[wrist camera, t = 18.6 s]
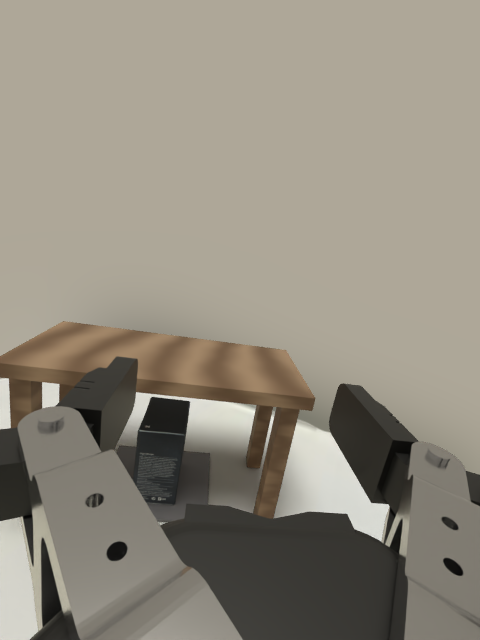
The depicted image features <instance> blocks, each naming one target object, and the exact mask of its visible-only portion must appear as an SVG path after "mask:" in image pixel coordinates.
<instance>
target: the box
mask: <svg viewBox="0 0 480 640" xmlns="http://www.w3.org/2000/svg"><path fill="white" fill-rule="evenodd" d="M189 408H190V401H183V400H174V399H165V398H157V397H152V398H150V402H149V405H148V408H147V411H146V413H145V416H144V418H143V421H142V423H141V425H140V428H139V430H138V437H137V447H136V456H135V466H134V476H133V482H134V483H135V485H136V487H137V488H138V490H139V492H140V493H141V495H142V497H143V498H144V500H145V502H146V503H152V504H165V505H174V504H175V503H176V496H177V489H178V483H179V477H180V470H181V464H182V457H183V450H184V444H185V437H186V430H187V423H188V415H189Z"/></svg>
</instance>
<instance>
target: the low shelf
mask: <svg viewBox="0 0 480 640" xmlns="http://www.w3.org/2000/svg"><path fill="white" fill-rule="evenodd" d="M116 356H119V357H127V358H136V359H138V372H137V384H136V392H141V393H150V394H160V395H169V396H178V397H188V398H197V399H206V400H216V401H225V402H234V403H244V404H253V405H257V406H256V411H255V416H254V421H253V426H252V431H251V436H250V441H249V446H248V451H247V456H246V462H247V467H250V468H260V465H261V460H262V455H263V451H264V446H265V442H266V437H267V432H268V428H269V423H270V419H271V414H272V409H273V407H276V412H275V416H274V421H273V425H272V430H271V435H270V439H269V444H268V448H267V453H266V457H265V462H264V466H263V471H262V475H261V480H260V484H259V489H258V493H257V498H256V502H255V507H254V512H253V514H255V515H259V516H262V517H265V518H270V519H273V517H274V513H275V508H276V504H277V500H278V496H279V492H280V488H281V484H282V480H283V476H284V471H285V467H286V463H287V459H288V455H289V451H290V447H291V443H292V439H293V435H294V430H295V426H296V422H297V418H298V414H299V410H309V411H312V410H313V405H314V402H315V397H314V395H313V394H312V392H311V390H310V389H309V387H308V386H307V384H306V382H305V381H304V379H303V377H302V376H301V374H300V373H299V371H298V369H297V368H296V366H295V364H294V363H293V361H292V359H291V358H290V356H289V354H288V353H287V351H286V350H280V349H272V348H265V347H258V346H249V345H242V344H235V343H227V342H219V341H211V340H203V339H196V338H188V337H181V336H173V335H165V334H157V333H150V332H142V331H135V330H127V329H119V328H111V327H103V326H96V325H88V324H81V323H73V322H65V321H63V322H61V323H59V324H58V325H56V326H54V327H52V328H51V329H48V330H47V331H45V332H43V333H41V334H40V335H38V336H36V337H34V338H32V339H30V340H29V341H27V342H25V343H23V344H21V345H20V346H18V347H16V348H14V349H12V350H11V351H9V352H7V353H5V354H3V355H2V356H0V377H1V378H9V389H10V415H11V428H16V427H18V424H19V422H20V421H21V420H22V419H23V418H24V417H25V416H27V415H28V414H30V413H32V412H34V411H37V410H40V409H42V382H47V383H57V384H60V388H59V402H60V401H61V400H62V399H63V398H64V397H65V396H66V395H67V394H68V393H69V392H70V390H71V389H72V388H74V386H75V385H76V384H77V383H78V382H80V380H81V379H82V378H83V377H84V376H85V375H86V374H87V373H88V372H90V371H92V370H94V369H97V368H99V367H101V368H107V367H108V366H109V365H110V363H111V362H112V361H113V360H114V359H115V357H116Z"/></svg>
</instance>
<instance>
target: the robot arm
mask: <svg viewBox="0 0 480 640" xmlns="http://www.w3.org/2000/svg"><path fill="white" fill-rule="evenodd" d="M137 372H138V359H136V358H127V357H119V356H116V357H115V359H114V360H113V361H112V362H111V363H110V365H109V366H108V367H107V368H101V367H99V368H97V369H94V370H92V371H90V372H88V373H87V374H86V375H85V376H84V377H83V378H82V379H81V380H80V382H78V383H77V384H76V385H75V386H74V388H72V389H71V390H70V392H69V393H68V394H67V395H66V396H65V397H64V398H63V399H62V400H61V401H60V402H59V403H58V404H57V405H56V406H55V407H48V408H43V409H40V410H37V411H34V412H32V413H30V414H28V415H27V416H25V417H24V418H23V419H22V420H21V421H20V422H19V424H18V427H16V428H10V429H1V430H0V521H3V520H8V519H12V518H17V517H20V518H21V524H22V530H23V535H24V540H25V546H26V551H27V556H28V562H29V567H30V572H31V577H32V583H33V591H34V601H35V611H36V619H37V626H38V632H37V633H36V634H35V635H34V636H33V637H32V638H31V639H30V640H480V475H478V474H475V473H471V472H468V471H465V467H464V465H463V464H462V462H461V461H460V460H459V459H457V458H456V457H455V456H454V455H453V454H451V453H450V452H448V451H446V450H444V449H443V448H441V447H438V446H436V445H433V444H430V443H426V442H419V441H418V440H417V439H416V438H415V437H414V436H413V435H412V434H411V433H410V432H409V431H408V430H407V429H406V428H405V427H404V426H403V425H402V424H401V423H399V421H398V420H397V419H396V418H395V417H394V416H392V414H391V413H390V412H389V411H388V410H387V409H386V408H385V407H384V406H383V405H381V404H380V403H378V402H377V401H375V400H374V399H373V398H372V397H371V396H370V395H369V394H368V393H367V392H366V391H365V390H364V388H363V387H361V386H359V385H351V384H340V385H339V387H338V390H337V393H336V397H335V400H334V404H333V408H332V411H331V415H330V420H329V426H330V432H331V434H332V436H333V437H334V439H335V441H336V443H337V444H338V446H339V448H340V450H341V451H342V453H343V455H344V456H345V458H346V460H347V462H348V463H349V465H350V467H351V468H352V470H353V472H354V474H355V475H356V477H357V479H358V481H359V482H360V484H361V486H362V487H363V489H364V491H365V493H366V494H367V496H368V498H369V500H370V501H371V503H381V504H389V506H390V507H389V509H388V512H387V515H386V519H385V524H384V530H383V535H382V540H381V541H379V540H377V539H375V538H373V537H371V536H369V535H367V534H365V533H362V532H360V531H357V530H354V528H353V526H352V524H351V521H350V519H349V517H348V515H347V514H338V513H323V512H305V513H300V514H295V515H290V516H285V517H280V518H274V519H270V518H265V517H262V516H259V515H255V514H252V513H249V512H245V511H242V510H239V509H235V508H232V507H229V506H216V505H201V504H186V509H185V516H184V519H179V520H175V521H171V522H168V523H165V524H163V525H161V526H160V525H159V523H158V522H157V520H156V518H155V517H154V515H153V513H152V512H151V510H150V508H149V507H148V505H147V503H146V502H145V500H144V498H143V497H142V495H141V493H140V492H139V490H138V488H137V487H136V485H135V483H134V482H133V480H132V479H131V477H130V475H129V474H128V472H127V470H126V469H125V467H124V465H123V464H122V462H121V460H120V459H119V457H118V455H117V454H116V452H115V451H114V448H115V446H116V444H117V442H118V440H119V438H120V436H121V434H122V432H123V430H124V428H125V426H126V424H127V422H128V419H129V417H130V415H131V413H132V410H133V407H134V403H135V396H136V384H137Z"/></svg>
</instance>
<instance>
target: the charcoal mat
mask: <svg viewBox="0 0 480 640" xmlns="http://www.w3.org/2000/svg"><path fill="white" fill-rule="evenodd" d="M116 454H117V455H118V457H119V459H120V460H121V462H122V464H123V465H124V467H125V469H126V470H127V472H128V474H129V475H130V477H131V479H132V480H133V476H134V466H135V456H136V447H128V446H119V449H118V451H117V453H116ZM209 458H210V453H198V452H187V451H183V457H182V464H181V470H180V477H179V483H178V489H177V496H176V503H175V504H174V505H165V504H152V503H147V505H148V507H149V508H150V510H151V512H152V513H153V515H154V517H155V518H156V520H157V521H161V522H171V521H175V520H179V519H184V516H185V509H186V504H201V505H208V489H209Z"/></svg>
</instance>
